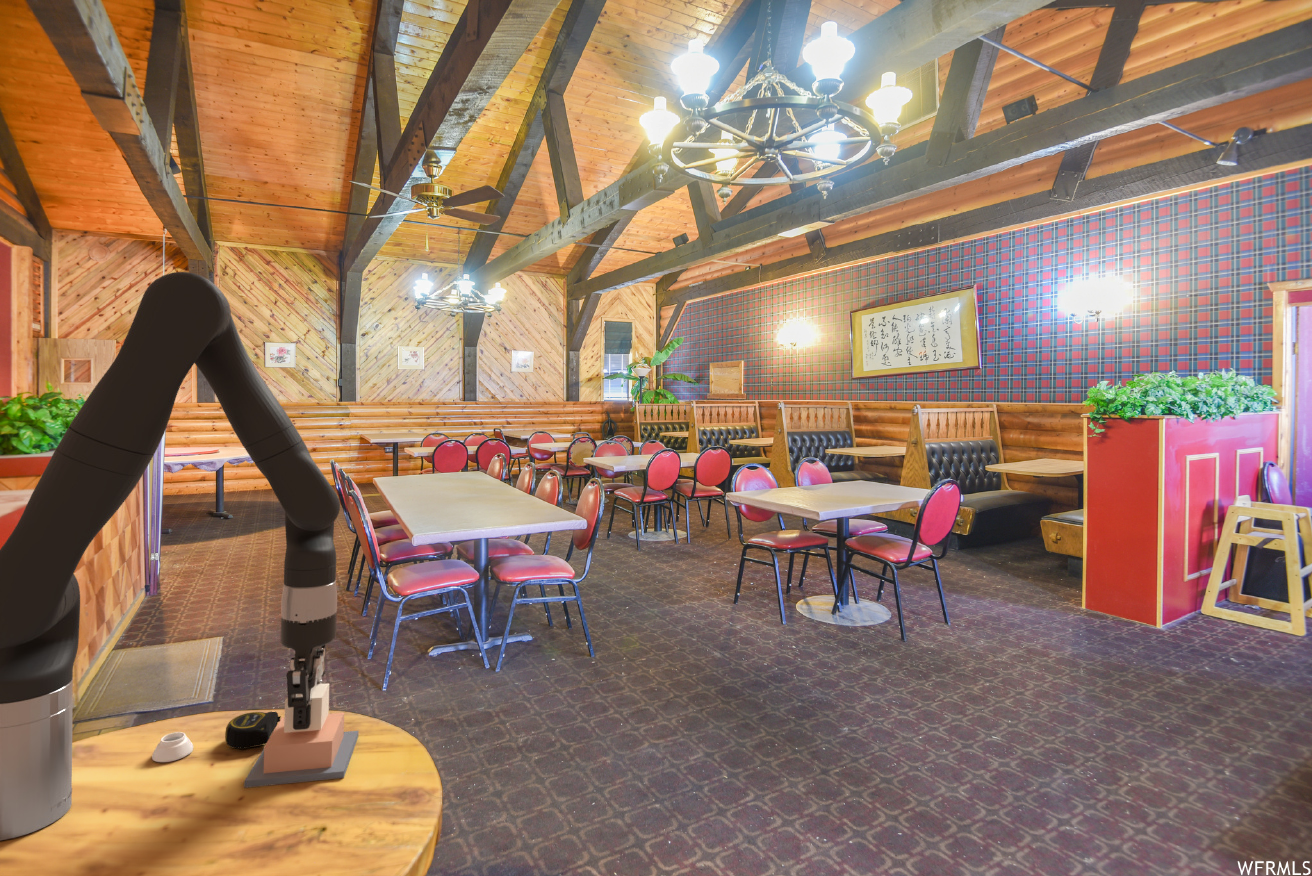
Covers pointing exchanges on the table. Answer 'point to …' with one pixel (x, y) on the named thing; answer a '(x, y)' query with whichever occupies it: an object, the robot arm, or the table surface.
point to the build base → (305, 774)
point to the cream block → (317, 709)
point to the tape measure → (251, 729)
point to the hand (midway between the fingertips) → (306, 718)
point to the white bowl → (172, 747)
